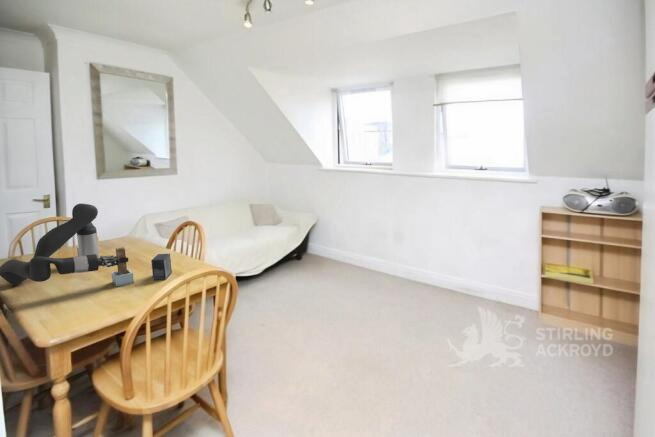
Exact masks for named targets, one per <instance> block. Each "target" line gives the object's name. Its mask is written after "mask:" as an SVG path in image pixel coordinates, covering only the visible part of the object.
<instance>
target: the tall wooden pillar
mask: <svg viewBox="0 0 655 437" xmlns="http://www.w3.org/2000/svg"><path fill="white" fill-rule="evenodd" d="M115 254H116V255H115V256H116V258H126V248H124V247H116V248H115ZM116 266H117V271H118V275H123V274H127V269H128V268H127V262H125V263H120V264H119V265H116Z"/></svg>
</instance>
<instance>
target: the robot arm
mask: <svg viewBox="0 0 655 437" xmlns="http://www.w3.org/2000/svg"><path fill="white" fill-rule="evenodd" d="M71 212H72V213H71V216H72V218H71V219H68V220H67V221H66V222H64V223H62V224H59V225H57V226H55V227H53V228H52V229H50V230H49V231H47V232H46V233H45V234H44V235H43V236H42V237H40V238H39V240H38V241H37V244H36V247H35V250H34V251H35V252H34V255H33V257H32V258H31V259H30V260H29V261H22V260H19V259H15V258H11V259H9V260H7V261H5V262H4V263H3V264H1V265H0V277H1V278H3V279H4V280H5V281H7V282H8V283H9V284H10V285H12V286H15V287H16V286H18V285H20V284H22V283H23V282H25V280H27V279H29V280H30V281H31V282H32V281H33V282H38V283H42V282H46V281H48V280H50V278H51V276H52V271H51V269H52V268H51V264H52V265H54V266H55V267H56V270H57V273H58V274H59V275H68V274H80V273H81V274H82V273H90V272H97V271H99V268H100V267H102V268H103V267H105V268H106V267H107V268H111V267H115V266H117V265H119V264H120V263H125V262H126V263H128V262H129V257H126V258H116V255H100V250H99V241H98V232H97V228H96V226H95V225H94V223H93V221H94V220H96V219H97V217H98V213H99V211H98V208H97V207H96V206H95V205H93V204H89V203H77V204H75V205H74V206H73V208H72V211H71ZM74 236H76V237H77V238H76V239H77V246H78V247H77V248H76V252H77V256H72V257H71V256H70V257H61V258H60V257H59V258H58V257H51V256H52V255H53V254H54V253H56V252H57V251H59V249H61V248H62V247H63V246H64V245H65V244H66V243H67V242H68V241H69V240H71V239H72V238H73V237H74Z"/></svg>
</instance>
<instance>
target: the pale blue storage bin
mask: <svg viewBox="0 0 655 437" xmlns="http://www.w3.org/2000/svg"><path fill="white" fill-rule="evenodd" d="M111 281H112V282H111V283H112V284H113V285H114V286H115V287H116V288H117V287H123V286H126V285H131V284H134V283H135V281H134V273H133V272H132V271H131V270H130V269H129V268H127V274H123V275H118V270H116V271H112V272H111Z"/></svg>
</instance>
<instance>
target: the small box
mask: <svg viewBox="0 0 655 437" xmlns="http://www.w3.org/2000/svg"><path fill="white" fill-rule="evenodd" d="M150 263H151V271H152V281H166V280H168V278H169V277H170V276H171V275H172V273H173V270H172V259H171V253H158V254H156V256H154V257H153V258H152V259H151V262H150Z"/></svg>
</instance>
